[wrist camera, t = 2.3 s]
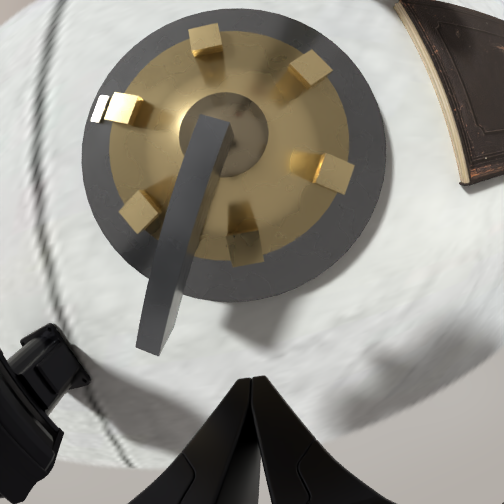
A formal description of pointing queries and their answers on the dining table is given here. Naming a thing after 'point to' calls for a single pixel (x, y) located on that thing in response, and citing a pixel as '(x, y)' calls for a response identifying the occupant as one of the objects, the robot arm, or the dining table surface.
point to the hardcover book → (464, 79)
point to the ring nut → (223, 157)
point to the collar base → (304, 247)
